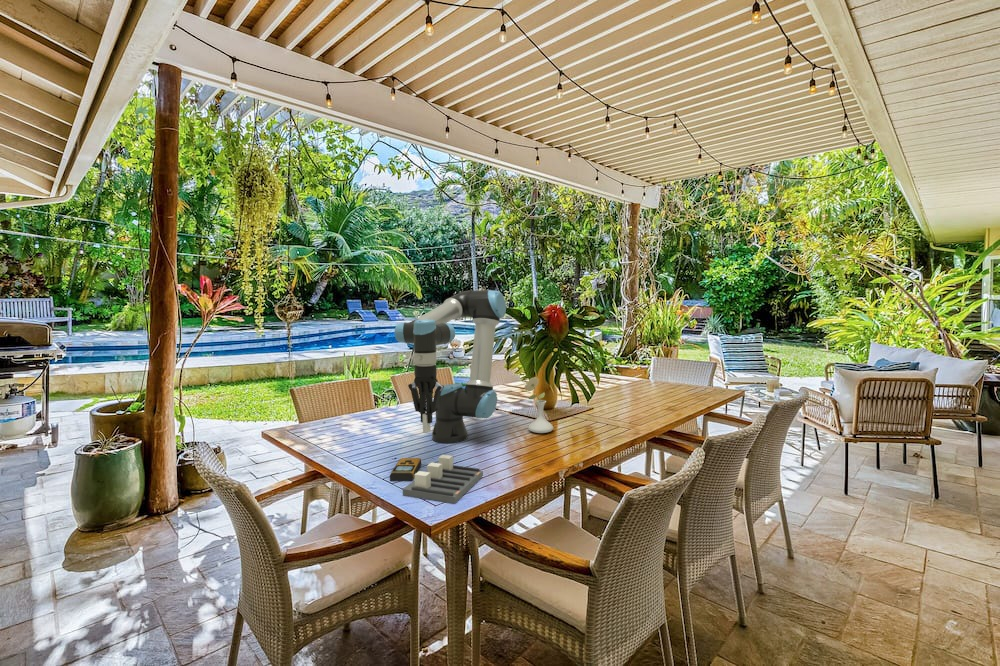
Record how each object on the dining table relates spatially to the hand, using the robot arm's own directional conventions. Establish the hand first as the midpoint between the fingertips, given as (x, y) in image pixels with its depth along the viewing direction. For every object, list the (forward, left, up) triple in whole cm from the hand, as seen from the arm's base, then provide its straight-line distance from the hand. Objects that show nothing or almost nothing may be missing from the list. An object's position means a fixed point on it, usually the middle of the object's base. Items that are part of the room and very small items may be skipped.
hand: (426, 431), depth 166 cm
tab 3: (0, +7, -13) cm, 14 cm away
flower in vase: (-59, +24, -15) cm, 65 cm away
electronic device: (+2, -8, -15) cm, 17 cm away
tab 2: (+8, +7, -13) cm, 16 cm away
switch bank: (+8, +11, -15) cm, 20 cm away
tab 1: (+16, +7, -13) cm, 21 cm away
